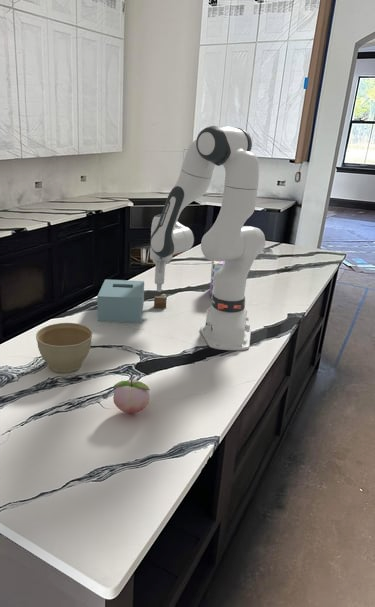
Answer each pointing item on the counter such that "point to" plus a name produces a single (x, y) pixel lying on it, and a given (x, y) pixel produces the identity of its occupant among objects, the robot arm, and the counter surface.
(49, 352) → the planter bowl
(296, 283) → the counter surface
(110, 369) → the counter surface
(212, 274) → the candy box
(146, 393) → the decorative fruit
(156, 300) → the brown rectangular block
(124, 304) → the box
